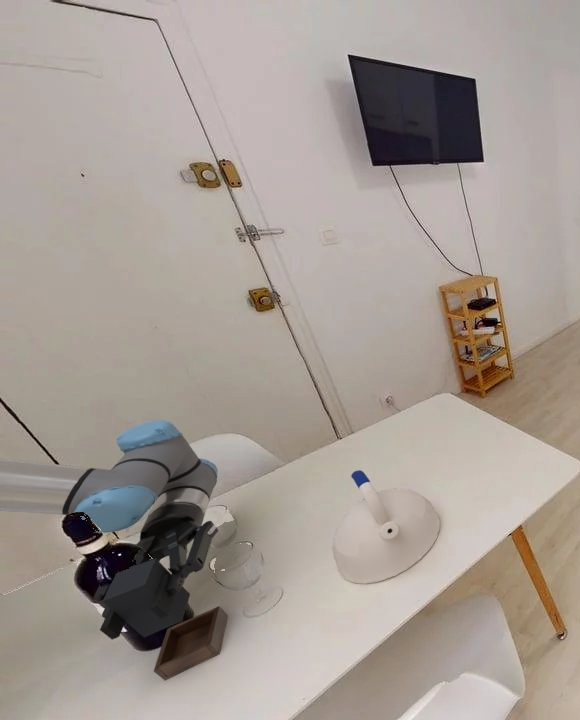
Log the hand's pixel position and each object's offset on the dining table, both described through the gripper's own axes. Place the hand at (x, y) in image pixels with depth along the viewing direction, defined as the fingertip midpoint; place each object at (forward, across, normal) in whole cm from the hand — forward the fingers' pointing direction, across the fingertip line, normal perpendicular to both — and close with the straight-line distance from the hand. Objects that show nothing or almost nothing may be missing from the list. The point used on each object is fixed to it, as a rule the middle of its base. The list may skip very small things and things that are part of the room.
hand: (134, 622), depth 61 cm
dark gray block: (-5, 0, -6) cm, 8 cm away
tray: (-5, 0, -15) cm, 16 cm away
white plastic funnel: (-9, -31, -16) cm, 36 cm away
